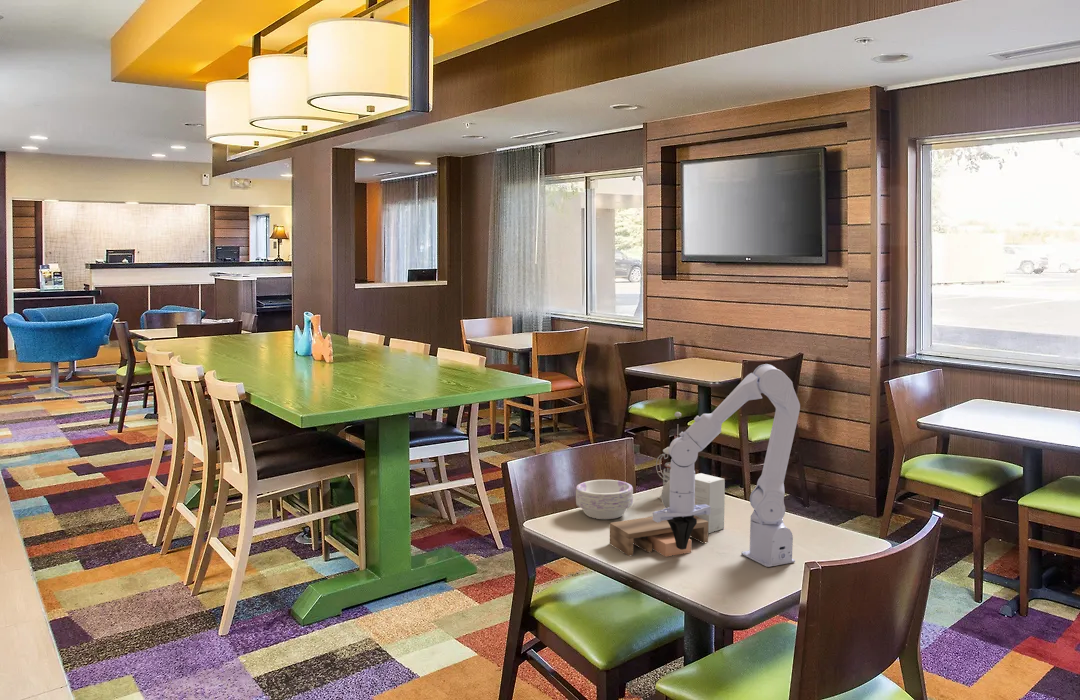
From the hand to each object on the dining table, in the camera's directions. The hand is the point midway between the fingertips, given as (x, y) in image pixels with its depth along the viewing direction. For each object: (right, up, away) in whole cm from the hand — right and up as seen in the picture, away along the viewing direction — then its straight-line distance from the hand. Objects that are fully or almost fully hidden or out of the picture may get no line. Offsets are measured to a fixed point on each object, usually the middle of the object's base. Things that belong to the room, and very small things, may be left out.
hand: (681, 548), depth 196 cm
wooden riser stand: (-4, -1, +9) cm, 10 cm away
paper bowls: (-15, +1, +32) cm, 35 cm away
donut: (+5, +1, +33) cm, 33 cm away
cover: (-2, -1, +5) cm, 5 cm away
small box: (+9, 0, +21) cm, 23 cm away
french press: (+6, +3, +48) cm, 48 cm away
